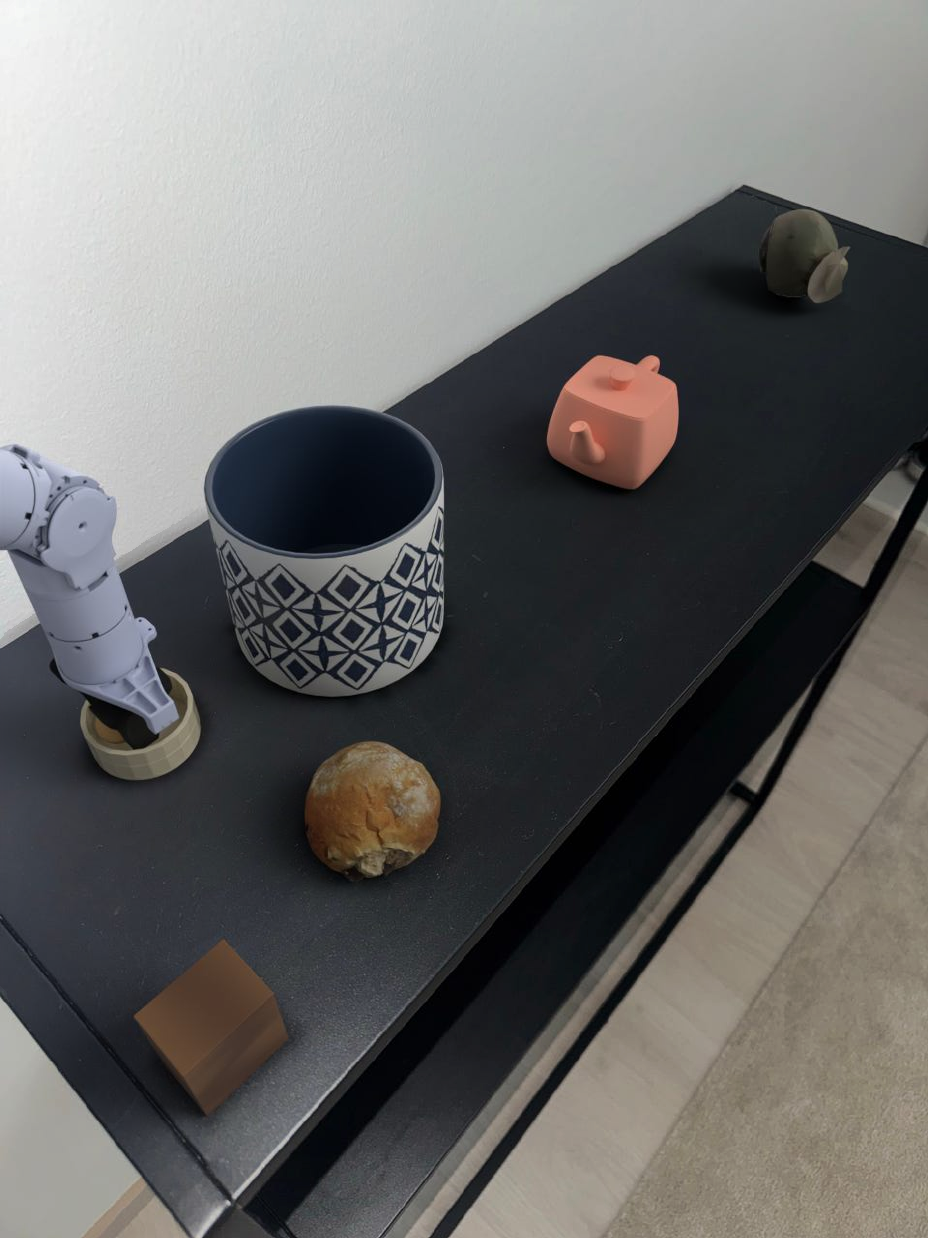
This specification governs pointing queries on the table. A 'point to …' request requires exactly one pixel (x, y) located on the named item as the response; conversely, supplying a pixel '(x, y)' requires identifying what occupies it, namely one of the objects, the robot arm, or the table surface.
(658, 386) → the teapot
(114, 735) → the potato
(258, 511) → the planter
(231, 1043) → the block
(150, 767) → the bowl
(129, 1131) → the table surface
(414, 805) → the bread roll
